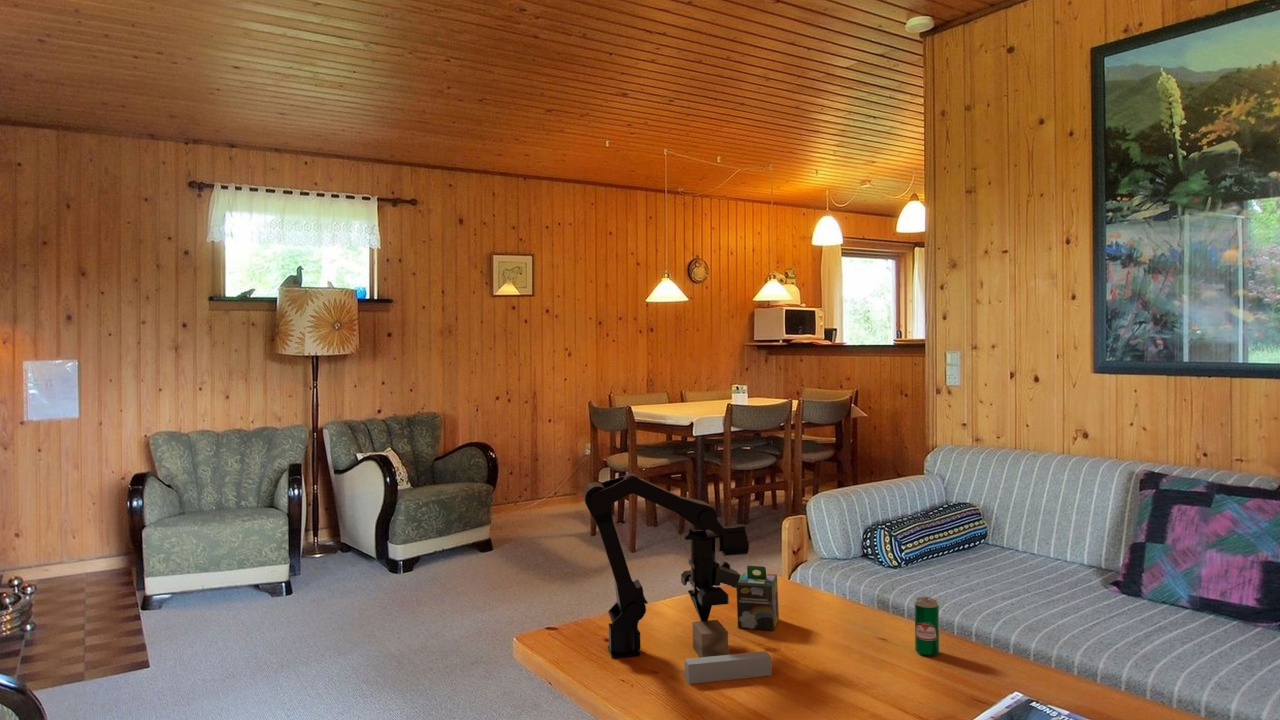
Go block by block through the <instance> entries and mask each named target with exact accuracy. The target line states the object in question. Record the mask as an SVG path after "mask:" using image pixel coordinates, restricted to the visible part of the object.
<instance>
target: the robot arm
mask: <svg viewBox="0 0 1280 720" xmlns="http://www.w3.org/2000/svg"><path fill="white" fill-rule="evenodd" d="M632 494H633V495H635V496H638V497H641V498H643V499H644V500H647V501H649V502H652V503H654V504H656V505H658V506H660V507H662V508H665V509H667V510H669V511H672V512H674V513H676V514H677V515H679V516H680V517H681V518H683V519H684V520H685V521H687V522H688V523H690V524H691V525H693V526H694V527H696V528H697V529H698V530H697V529H695V530H693V529H692V528H691V527H690V526H688V527H687V529H686V530H685V531H683V532H682V534H681V537H683V539H684V540H685V541H690V558H689V559H688V564H689V565H690V568H691V569H690V570H684V571H683V572H682V573H681V574H680V583H681V584H682V585H683V586H687V584H688V583H689V585H690V588H691V589H690V590H687V593H688V595H689V597H690V600H691V601H692V604H693V606H694V608H695V610H696V613H697V616H698V618H699V621H709V617H710V613H711V610H712V607H713V606H721V605H722V606H723V605H724V606H725V605H728V604H729V603H730V601H729V600H730V598H729V594H728V593H727V592H726V591H725V590H724V589H723V588H722V587H720V586H721V584H723V585H726V586H727V585H728V586H730V587H732V588H734V589H736V588H737V585H738V582H739V579H740V576H741V575H742V574H740V573H739V572H738V571H737V570H735V569H733V568H731V565H730V564H731V563H729V562H727V561H724V560H722V561H720V563H719V562H717V560H716V551H717V552H718V553H720V554H721V555H722V556H723V557H726V556H727V557H728V556H743V555H748V553H749V551H750V550H749V549H750V543H749V540H748V535H747V533H746V526H745V525H743V524H736V525H728V526H727V525H726V526H724V525H723V524H721V522H720V521H718V514H717V511H716V510H715V508H714V507H712V506H711V505H710V504H708V503H707V502H706V501H703V500H700V499H695V498H691V497H685V496H680V495H678V494H676V493H674V492H671V491H670V490H667V489H666V488H663V487H660V486H658V485H656V484H654V483H651V482H649V481H647V480H645V479H643V478H641V477H639V476H637V475H636V474H635V473H626V474H625V475H622V476H619V477H616V478H612V479H608V480H605V481H603V482H597V481H593V482H590V483H588V484H587V485H586V486H585V487H584V488H583V491H582V499H583V501H584V504H585V506H586V507H587V509H588V511H589V513H590V515H591V517H592V519H593V520H594V523H595V524H596V527H597V529H598V533H599V536H600V539H601V541H602V544H603V547H604V548H603V549H604V551H605V553H606V557H607V561H608V564H609V566H610V569H611V573H612V575H613V578H614V586H615V590H614V591H615V598H616V602H615V603H614V604H613V605H612V607H610V609H609V610H608V612H607V613H608V615H609V618H610V621H611V623H608V645H607V650H608V652H609V655H610V658H612V659H615V658H617V659H618V658H626V657H634V656H635V657H636V656H637V657H639V656H640V655H641V652H640V650H641V632H640V630H639V627H638V624H639V622H640V620H642V619H643V618H644V616H645V614H646V613H647V607H646V605H647V604H648V600H647V599H646V597H645V594H644V589H643V586H642V583H641V581H640V580H639V578H637V579H635V580H633V579H632V577H631V573H630V570H629V567H628V565H627V561H626V558H625V554H624V552H623V549H622V546H621V542H620V539H619V537H618V533H617V530H616V528H615V524H614V517H613V507H612V504H613V503H616V502H618V501H620V500H622V499H623V498H626V497H627V496H630V495H632ZM708 530H709V531H710V532H707V531H708Z"/></svg>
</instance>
